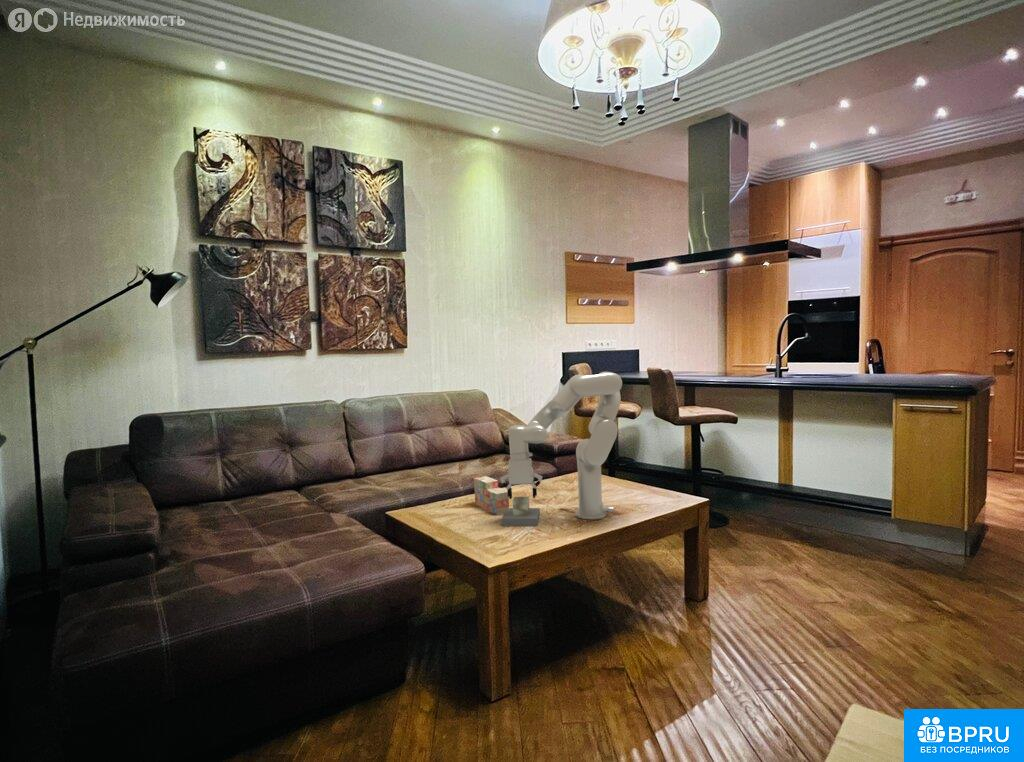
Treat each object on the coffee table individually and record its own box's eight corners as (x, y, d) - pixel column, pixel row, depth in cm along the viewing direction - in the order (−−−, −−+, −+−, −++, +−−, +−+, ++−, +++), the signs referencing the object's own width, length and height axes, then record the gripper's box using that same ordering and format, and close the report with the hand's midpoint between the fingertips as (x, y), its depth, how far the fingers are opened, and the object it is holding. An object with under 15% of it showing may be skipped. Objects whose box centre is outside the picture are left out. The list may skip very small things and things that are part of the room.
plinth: (539, 515, 229) (539, 508, 228) (537, 526, 215) (536, 518, 215) (506, 515, 230) (506, 508, 230) (501, 525, 217) (501, 518, 216)
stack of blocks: (509, 513, 234) (508, 484, 233) (496, 515, 231) (495, 486, 230) (486, 501, 252) (485, 475, 252) (474, 504, 249) (473, 477, 248)
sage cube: (529, 510, 225) (528, 496, 225) (528, 515, 219) (527, 500, 219) (514, 510, 226) (514, 496, 225) (513, 515, 220) (512, 500, 219)
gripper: (541, 453, 224) (544, 494, 225) (499, 455, 226) (502, 495, 227) (540, 457, 216) (543, 499, 217) (497, 459, 218) (500, 501, 220)
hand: (522, 497), depth 222 cm, fingers open, 9 cm apart
